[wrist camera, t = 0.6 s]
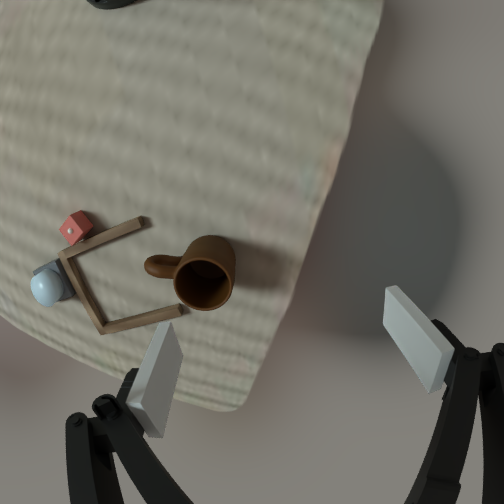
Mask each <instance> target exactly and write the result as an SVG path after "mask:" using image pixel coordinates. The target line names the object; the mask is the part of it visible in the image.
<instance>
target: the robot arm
mask: <svg viewBox="0 0 504 504" xmlns="http://www.w3.org/2000/svg"><path fill="white" fill-rule="evenodd" d="M87 1H88V2H89V3H90V4H91V5H93V6H94V7H96V8H99V9H114V8H119V7H122V6H125V5H128V4H130V3H132V2H134V1H136V0H87ZM383 325H384V327H385V328H386V329H387V331H388V332H389V334H390V335H391V337H392V338H393V340H394V341H395V343H396V344H397V346H398V347H399V349H400V350H401V352H402V353H403V354H404V356H405V358H406V359H407V361H408V362H409V364H410V365H411V367H412V368H413V370H414V371H415V373H416V374H417V376H418V378H419V379H420V381H421V382H422V384H423V386H424V387H425V389H426V390H427V392H428V394H429V393H432V392H435V391H437V390H440V389H441V387H442V384H443V382H445V383H446V385H447V387H446V390H445V392H444V395H443V397H442V400H443V402H442V406H441V410H440V413H439V417H438V420H437V423H436V427H435V430H434V433H433V436H432V439H431V442H430V445H429V448H428V450H427V453H426V456H425V458H424V461H423V463H422V466H421V468H420V471H419V473H418V476H417V478H416V480H415V482H414V485H413V487H412V489H411V491H410V493H409V495H408V497H407V499H406V501H405V503H404V504H455V503H456V501H457V498H458V495H459V492H460V488H461V484H460V483H459V480H460V476H461V473H462V470H463V466H464V463H465V459H466V455H467V451H468V447H469V443H470V438H471V434H472V429H473V424H474V419H475V413H476V406H477V400H478V396H479V403H480V412H481V421H482V434H483V458H484V473H483V496H482V504H504V343H497V344H495V345H494V346H493V348H492V351H491V352H486V353H480V352H479V351H478V350H476V349H474V348H470V347H467V348H466V347H465V346H464V345H463V344H462V343H461V342H460V341H459V340H458V339H457V338H456V336H455V335H454V334H452V332H451V331H450V330H449V329H448V328H447V327H446V326H445V325H444V324H443V323H442V322H440V321H438V320H436V319H434V320H431V321H430V320H429V319H428V318H427V317H426V316H425V315H424V314H423V313H422V311H421V310H419V308H418V307H417V306H416V305H415V304H414V303H413V302H412V301H411V300H410V299H409V298H408V297H407V296H406V295H405V294H404V292H403V291H401V290H400V288H399V287H398V286H397V285H395V286H390V287H386V291H385V305H384V317H383ZM182 359H183V354H182V351H181V348H180V345H179V343H178V340H177V337H176V334H175V332H174V329H173V326H172V323H171V321H169V322H159V324H158V327H157V329H156V331H155V333H154V336H153V338H152V340H151V342H150V345H149V347H148V349H147V352H146V354H145V356H144V359H143V361H142V363H141V366H140V368H132V369H131V370H130V371H129V372H128V373H127V374H126V376H125V379H124V382H123V383H122V385H121V388H120V390H119V392H118V395H117V397H116V398H115V397H114V396H113V395H110V394H104V395H102V396H99V397H98V398H96V399H95V401H94V402H93V404H92V409H93V411H94V412H95V414H96V415H97V416H98V417H93V418H87V416H86V415H85V414H84V413H80V412H77V413H74V414H72V415H71V416H69V417H68V419H67V420H66V460H67V475H68V486H69V495H70V502H71V504H124V501H123V497H122V493H121V490H120V486H119V482H118V477H117V473H116V468H115V464H114V459H113V454H112V452H116V453H117V454H118V456H119V459H120V460H121V462H122V464H123V466H124V467H125V469H126V471H127V473H128V474H129V476H130V478H131V480H132V481H133V483H134V484H135V486H136V487H137V489H138V491H139V492H140V494H141V495H142V497H143V498H144V500H145V501H146V503H147V504H194V503H193V502H192V501H191V500H190V499H189V498H188V496H187V495H186V494H185V493H184V492H183V491H182V489H181V488H180V487H179V486H178V484H177V483H176V482H175V481H174V479H173V478H172V477H171V476H170V474H169V473H168V472H167V470H166V469H165V468H164V466H163V465H162V464H161V462H160V461H159V460H158V459H157V457H156V456H155V454H154V453H153V451H152V450H151V448H150V447H149V445H148V444H147V442H146V441H145V439H144V438H143V434H144V431H145V432H146V434H147V435H148V437H155V438H163V435H164V431H165V427H166V423H167V418H168V414H169V410H170V406H171V402H172V398H173V394H174V390H175V386H176V382H177V378H178V375H179V371H180V367H181V363H182Z"/></svg>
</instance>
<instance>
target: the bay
mask: <svg viewBox="0 0 504 504" xmlns="http://www.w3.org/2000/svg"><path fill="white" fill-rule="evenodd" d="M142 226H144V222H143V220H142V217H141V216H139V217H136V218H134V219H132V220H129V221H127V222H124V223H122V224H120V225H117V226H115V227H112V228H110V229H108V230H106V231H103V232H101V233H99V234H96V235H94V236H92V237H90V238H87V239H85V240H83V241H81V242H79V243H77V244H74V245H73V246H70V247H68V248H66V249H64V250H62V251H60V252H59V253H58V256H59V258H60V260H61V262H62V264H63V267H64V269H65V271H66V273H67V275H68V277H69V279H70V281H71V283H72V285H73V287H74V289H75V291H76V293H77V295H78V296H79V298H80V300H81V302H82V304H83V306H84V307H85V309H86V311H87V313H88V315H89V316H90V318H91V320H92V321H93V323H94V325H95V327H96V328H97V330H98V332H99V333H100V335H104V334H108V333H113V332H117V331H121V330H126V329H130V328H134V327H138V326H142V325H146V324H151V323H155V322H159V321H163V320H167V319H170V318H174V317H178V316H181V315H182V313H183V310H182V308H181V306H180V303H179V304H176V305H172V306H168V307H165V308H161V309H157V310H153V311H150V312H146V313H142V314H138V315H135V316H131V317H127V318H123V319H119V320H115V321H111V322H107V323H105V321H104V319H103V318H102V316H101V314H100V312H99V311H98V309H97V307H96V305H95V303H94V301H93V300H92V298H91V296H90V294H89V292H88V290H87V288H86V286H85V284H84V282H83V280H82V278H81V276H80V274H79V272H78V270H77V268H76V266H75V264H74V262H73V259H72V257H71V256H74V255H76V254H78V253H80V252H83V251H85V250H87V249H90V248H92V247H94V246H97V245H99V244H101V243H104V242H106V241H109V240H111V239H113V238H116V237H118V236H121V235H123V234H126V233H128V232H131V231H133V230H136V229H138V228H141V227H142Z"/></svg>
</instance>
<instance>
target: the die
mask: <svg viewBox="0 0 504 504" xmlns="http://www.w3.org/2000/svg"><path fill="white" fill-rule="evenodd" d="M92 227H93V225H92V223H91V222H90V221H89V220H88V218H87V217H86V216H85V215H84V213H83V212H82V211H81V210H80V211H78V212H76V213H73V214H71V215H70V216H69V217H68V218H67V219H66V221H65V222H64V223H63V225H62V226H61V227H60V229H59V230H60V232H61V233H62V234H63V236H64V237H65V238H66V239H67V241H68V242H69V243H70V244H71V246H73V245H74V244H76V243H77V242H79V241H80V240H82V239H83V238H84V237H85V235H86V234H87V233H88V232H89V231H90V230H91V228H92Z"/></svg>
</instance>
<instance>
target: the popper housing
mask: <svg viewBox="0 0 504 504" xmlns="http://www.w3.org/2000/svg"><path fill="white" fill-rule="evenodd" d="M44 269H51V270H53V271H54V272H56V273H57V274H58V276H59V277H60V279H61V280H62V283H63V287H64V292H63V295H62V297H61V298H60V299H58V300H57V301H60V300H63V299H66V298H69V297H72V296H73V295H74V294H75V293H76V291H75V289H74V287H73V285H72V283H71V281H70V279H69V277H68V275H67V273H66V271H65V269H64V267H63V264H62V262H61V260H60V258H58V259H56V260H53V261H51V262H49V263H47V264H45V265H43V266H41V267H39V268H37V269H36V270H35V271H33V273H34V275H35V276H36V275H37V274H38V273H40V272H41V271H42V270H44ZM57 301H56V302H57Z"/></svg>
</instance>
